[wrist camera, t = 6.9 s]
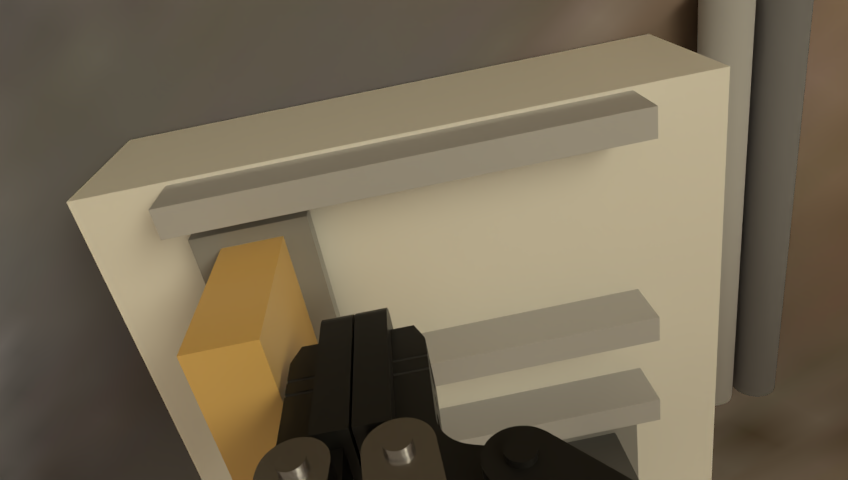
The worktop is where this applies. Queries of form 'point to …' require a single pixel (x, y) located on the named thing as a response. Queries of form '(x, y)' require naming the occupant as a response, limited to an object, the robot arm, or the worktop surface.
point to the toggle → (612, 448)
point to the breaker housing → (469, 237)
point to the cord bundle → (756, 176)
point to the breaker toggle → (253, 328)
